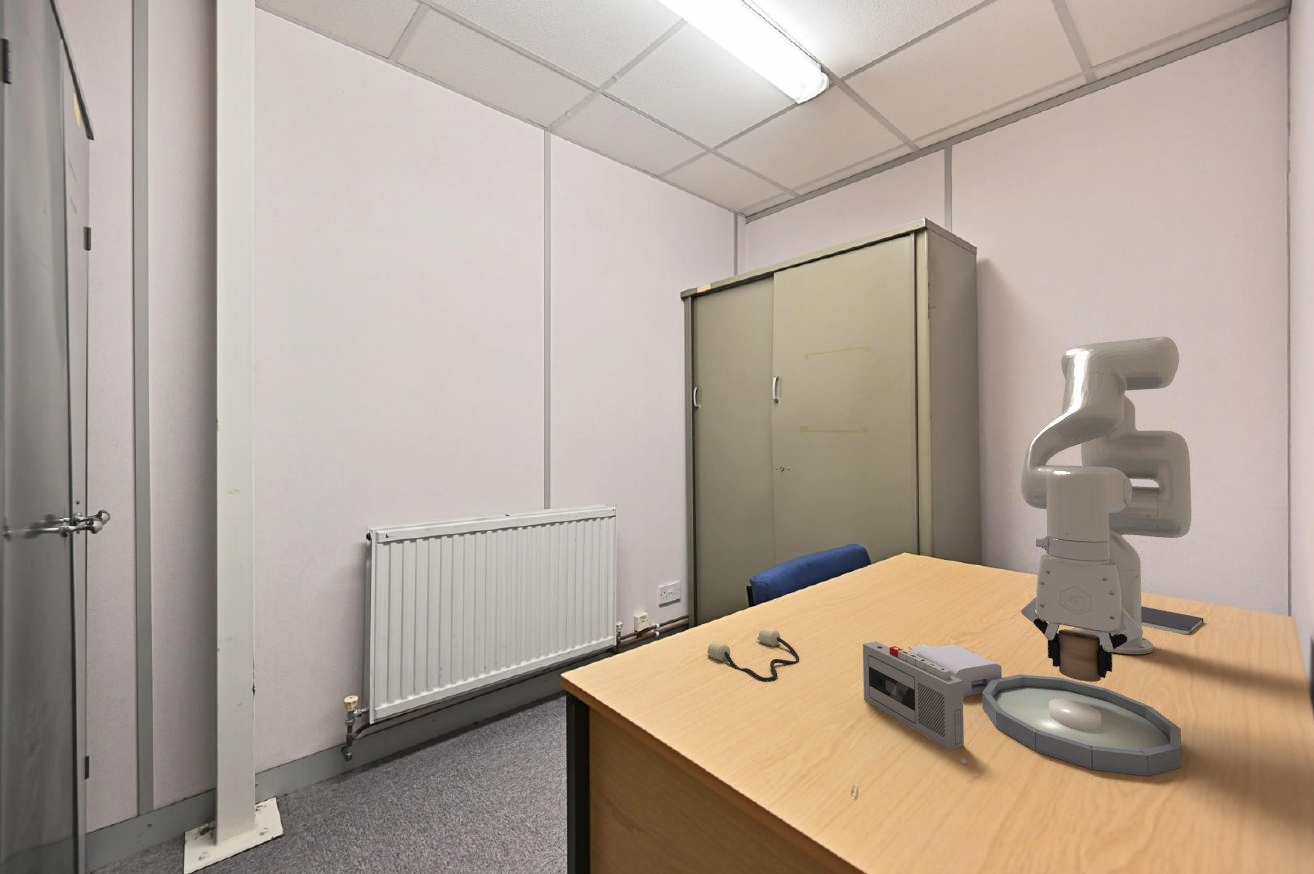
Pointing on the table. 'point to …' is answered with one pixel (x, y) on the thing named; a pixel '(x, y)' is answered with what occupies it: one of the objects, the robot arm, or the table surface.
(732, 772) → the table surface
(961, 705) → the cassette player
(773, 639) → the cable
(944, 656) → the charger
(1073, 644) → the bead
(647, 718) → the table surface
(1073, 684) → the tray
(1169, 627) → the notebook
